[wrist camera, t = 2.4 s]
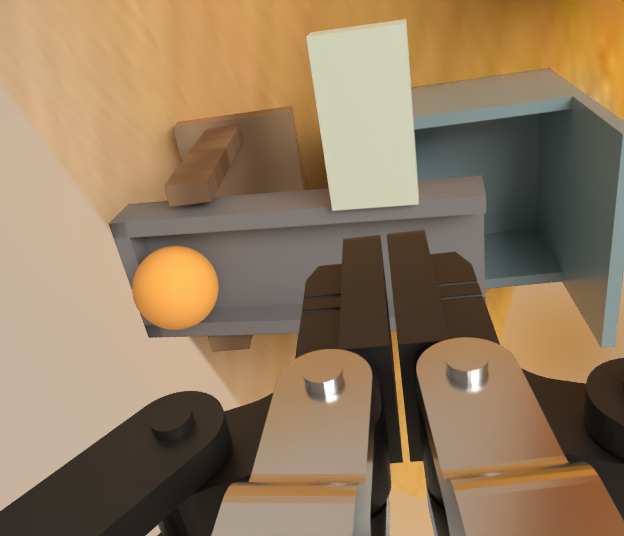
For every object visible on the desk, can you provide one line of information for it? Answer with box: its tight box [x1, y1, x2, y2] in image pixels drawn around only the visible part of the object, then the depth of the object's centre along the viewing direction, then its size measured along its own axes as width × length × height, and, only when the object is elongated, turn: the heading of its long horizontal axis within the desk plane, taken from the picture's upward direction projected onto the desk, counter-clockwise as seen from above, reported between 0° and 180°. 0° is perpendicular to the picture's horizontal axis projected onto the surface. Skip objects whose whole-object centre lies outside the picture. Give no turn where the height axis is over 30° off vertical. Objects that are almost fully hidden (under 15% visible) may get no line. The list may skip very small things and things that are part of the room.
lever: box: [109, 19, 486, 338], centre depth 27 cm, size 17×14×3 cm
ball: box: [132, 246, 219, 330], centre depth 28 cm, size 4×4×4 cm
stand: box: [164, 106, 306, 352], centre depth 33 cm, size 7×10×10 cm
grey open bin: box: [411, 68, 624, 348], centre depth 31 cm, size 10×10×12 cm
